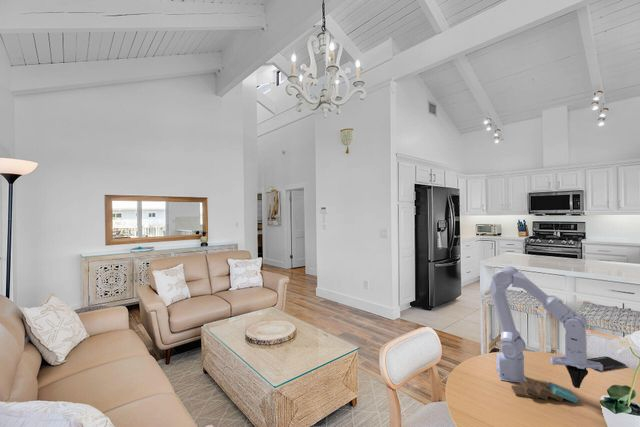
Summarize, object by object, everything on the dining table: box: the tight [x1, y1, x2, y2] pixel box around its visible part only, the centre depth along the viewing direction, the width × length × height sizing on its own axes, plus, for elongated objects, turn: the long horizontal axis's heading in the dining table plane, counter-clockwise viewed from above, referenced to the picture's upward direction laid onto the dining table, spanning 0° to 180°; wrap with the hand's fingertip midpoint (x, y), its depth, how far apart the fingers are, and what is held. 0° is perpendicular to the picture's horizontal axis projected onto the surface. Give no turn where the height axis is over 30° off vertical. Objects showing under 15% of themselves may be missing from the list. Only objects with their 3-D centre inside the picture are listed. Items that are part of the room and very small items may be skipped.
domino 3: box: [534, 380, 564, 403], centre depth 109 cm, size 2×5×7 cm
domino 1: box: [511, 384, 539, 400], centre depth 112 cm, size 2×5×7 cm
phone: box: [587, 355, 627, 372], centre depth 128 cm, size 8×1×15 cm
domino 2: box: [519, 380, 549, 401], centre depth 110 cm, size 2×5×7 cm
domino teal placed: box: [547, 381, 579, 404], centre depth 108 cm, size 2×5×7 cm
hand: (576, 386), depth 107 cm, fingers closed
